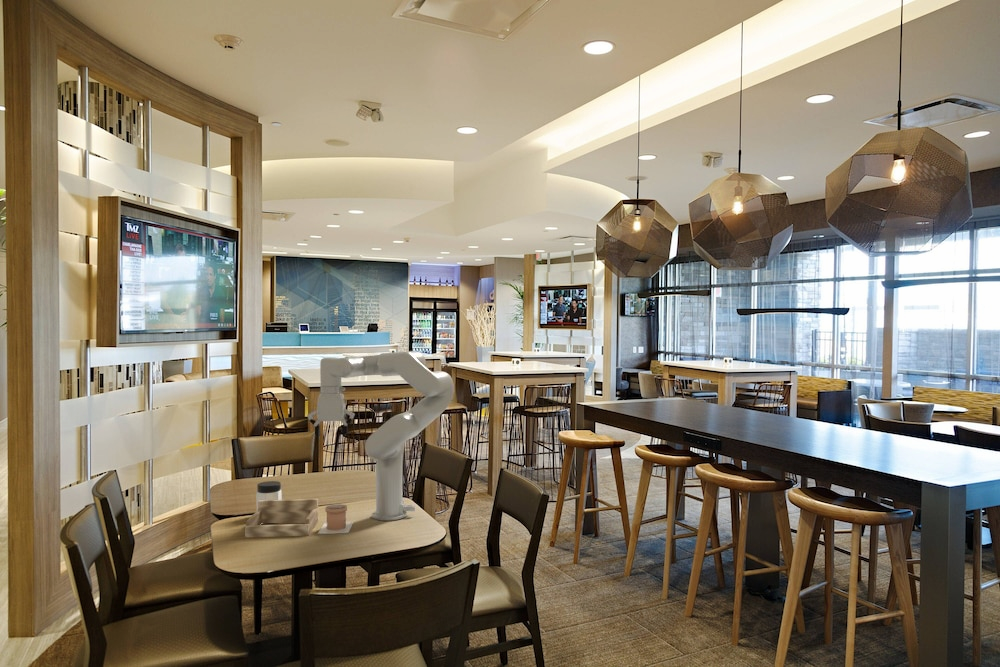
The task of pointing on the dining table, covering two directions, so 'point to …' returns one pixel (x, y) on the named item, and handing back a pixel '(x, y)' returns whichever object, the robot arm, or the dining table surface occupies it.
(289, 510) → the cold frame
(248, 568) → the dining table surface
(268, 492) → the jar
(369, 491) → the dining table surface
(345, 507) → the pot
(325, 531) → the tile
